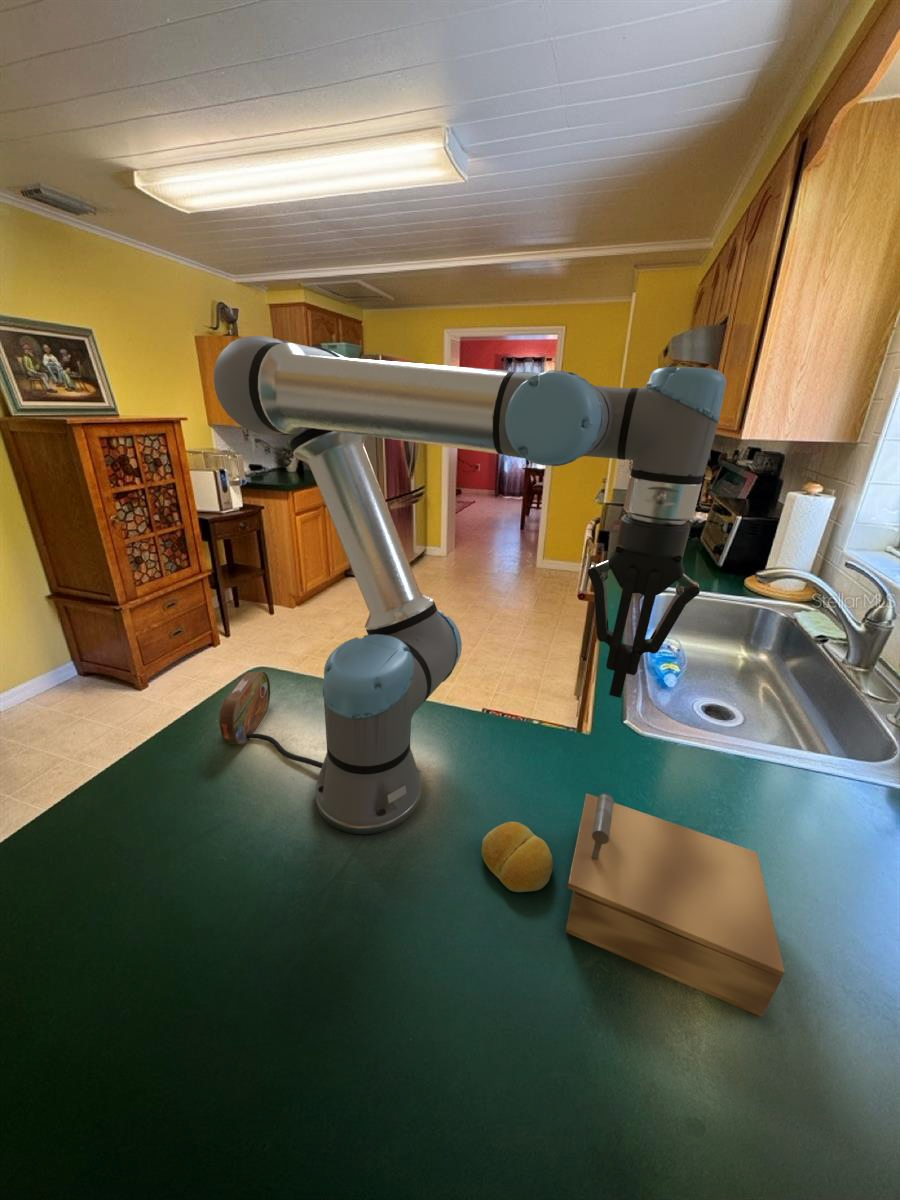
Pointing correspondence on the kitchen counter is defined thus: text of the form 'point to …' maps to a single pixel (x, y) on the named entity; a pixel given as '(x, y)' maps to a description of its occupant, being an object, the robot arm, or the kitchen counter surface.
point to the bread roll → (517, 857)
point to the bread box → (671, 954)
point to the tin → (244, 707)
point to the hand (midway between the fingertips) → (615, 691)
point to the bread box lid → (676, 880)
